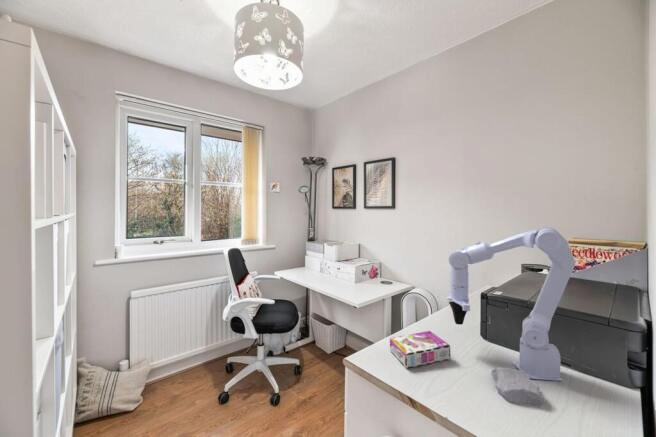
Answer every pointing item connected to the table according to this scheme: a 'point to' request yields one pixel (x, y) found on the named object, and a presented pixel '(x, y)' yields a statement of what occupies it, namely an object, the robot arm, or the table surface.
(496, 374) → the stone block
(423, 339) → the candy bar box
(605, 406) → the table surface
